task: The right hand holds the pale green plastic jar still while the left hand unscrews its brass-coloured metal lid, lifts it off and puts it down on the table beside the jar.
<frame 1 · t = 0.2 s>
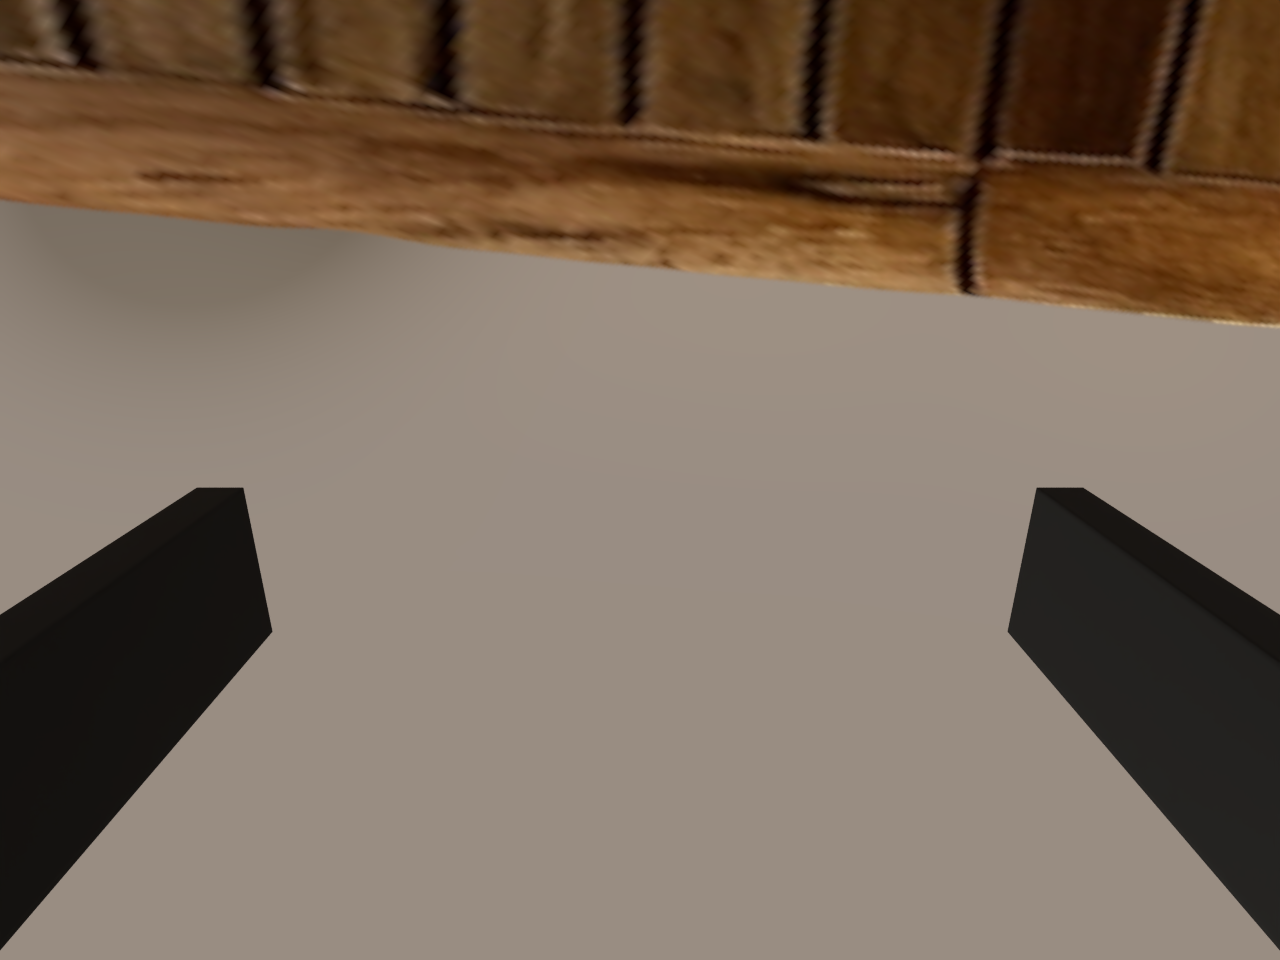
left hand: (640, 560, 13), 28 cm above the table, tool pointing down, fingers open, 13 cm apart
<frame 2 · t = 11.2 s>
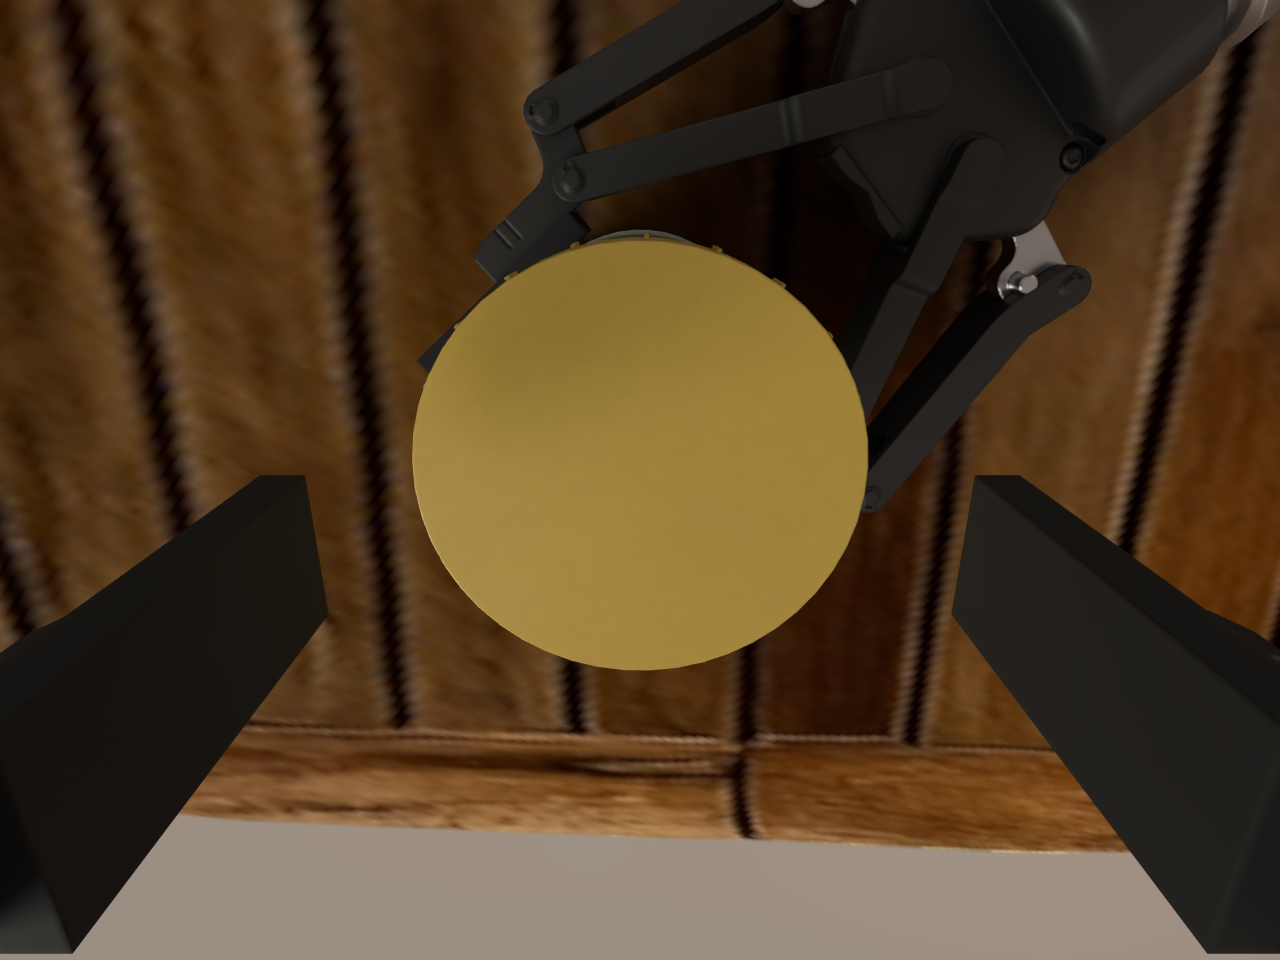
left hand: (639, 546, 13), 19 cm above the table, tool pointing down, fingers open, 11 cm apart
right hand: (544, 468, 26), fingers closed on jar, 9 cm apart
lid: (640, 473, 17), point 15 cm above the table, screwed on, not yet turned
jar: (640, 349, 30), on the table, touching right hand
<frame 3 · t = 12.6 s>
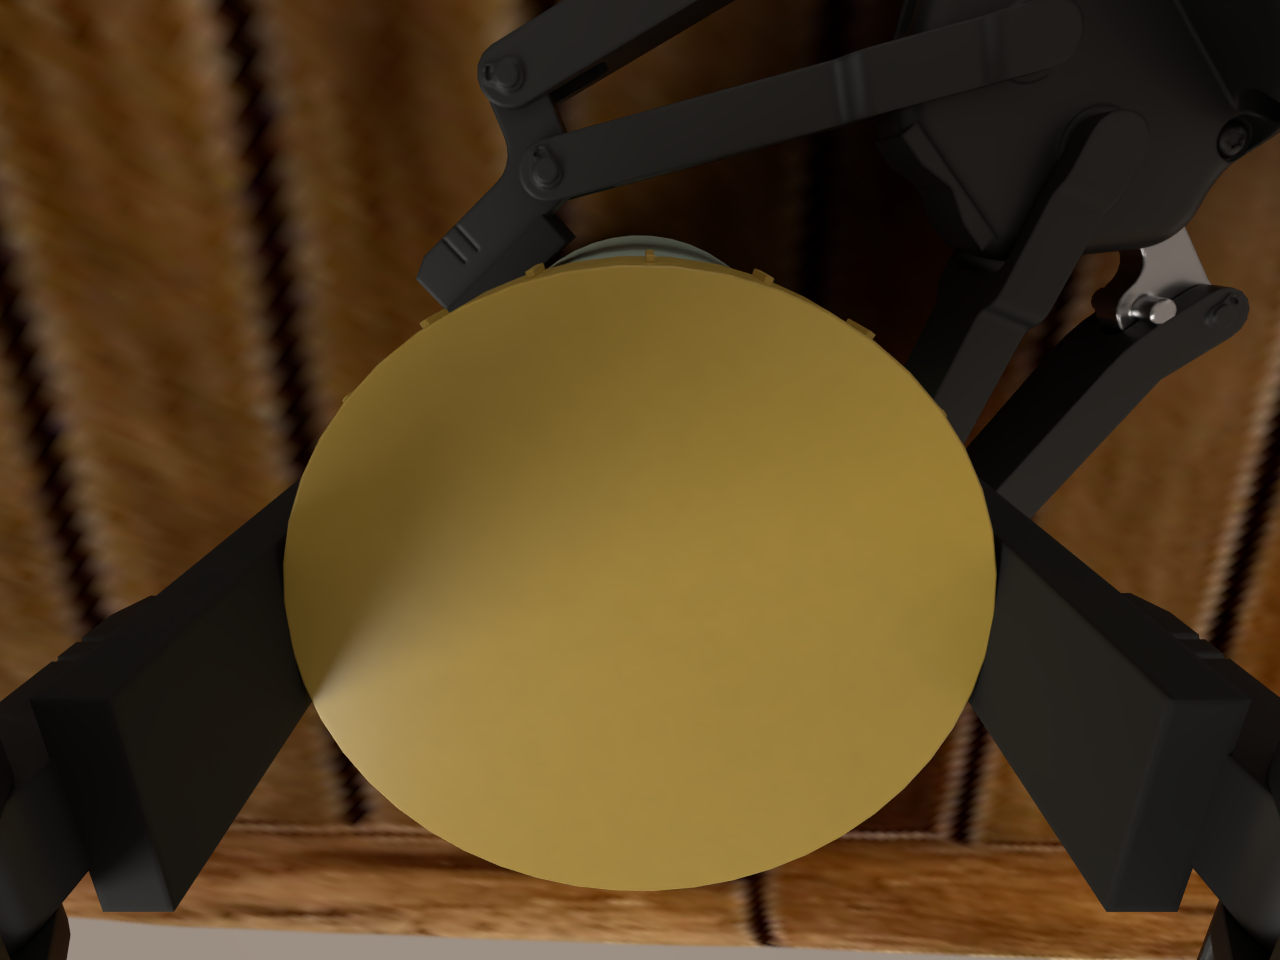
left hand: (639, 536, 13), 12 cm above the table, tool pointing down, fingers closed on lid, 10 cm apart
right hand: (515, 545, 20), fingers closed on jar, 9 cm apart
lid: (639, 618, 11), point 15 cm above the table, screwed on, not yet turned, touching left hand
jar: (639, 382, 25), on the table, touching right hand
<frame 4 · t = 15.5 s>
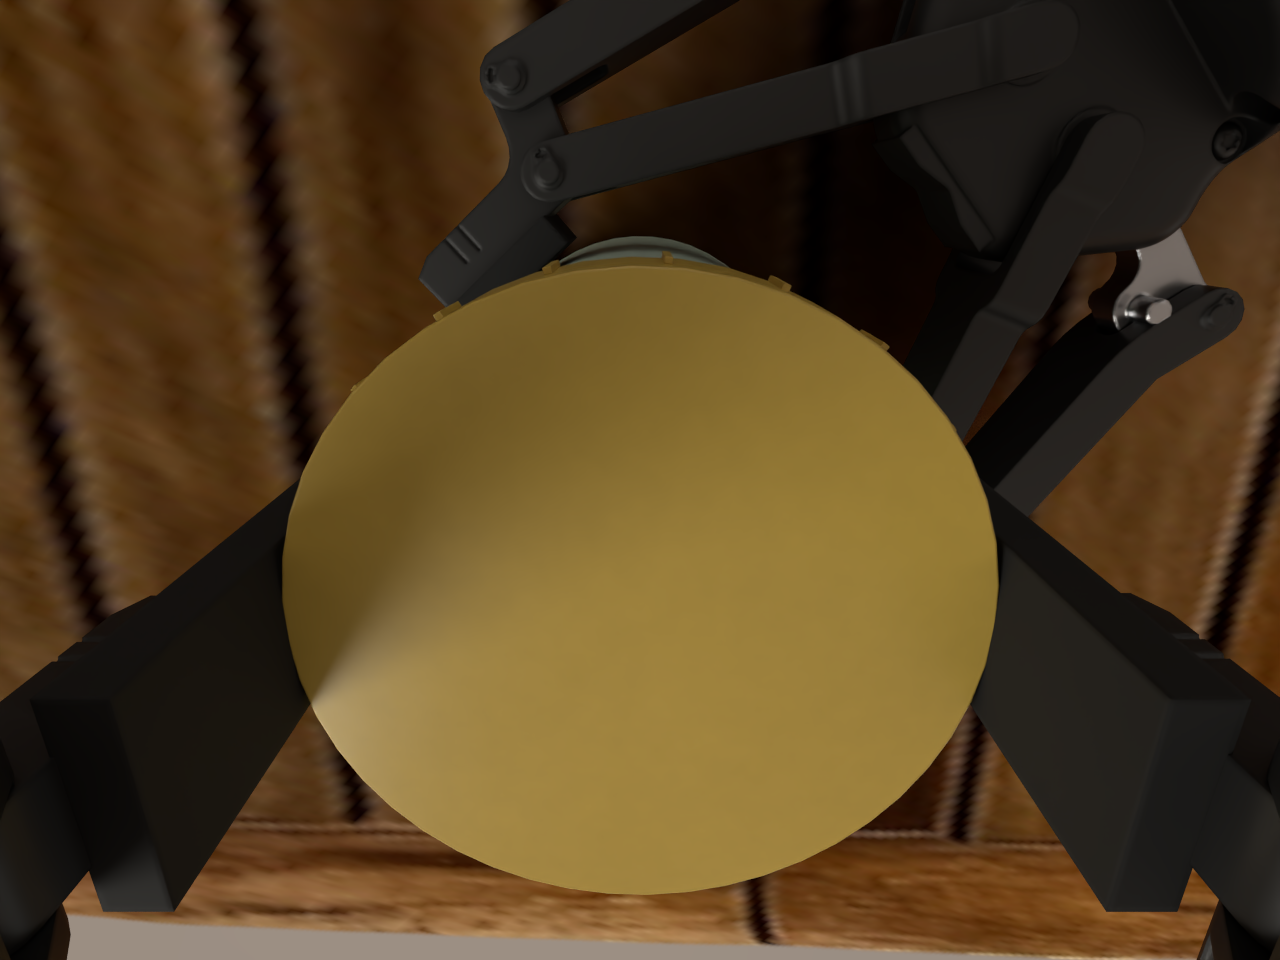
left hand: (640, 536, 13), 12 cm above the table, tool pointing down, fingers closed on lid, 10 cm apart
right hand: (516, 543, 20), fingers closed on jar, 9 cm apart
lid: (640, 620, 11), point 15 cm above the table, turned 66° so far, risen 0.2 cm, still on its thread, touching left hand
jar: (639, 382, 25), on the table, touching right hand
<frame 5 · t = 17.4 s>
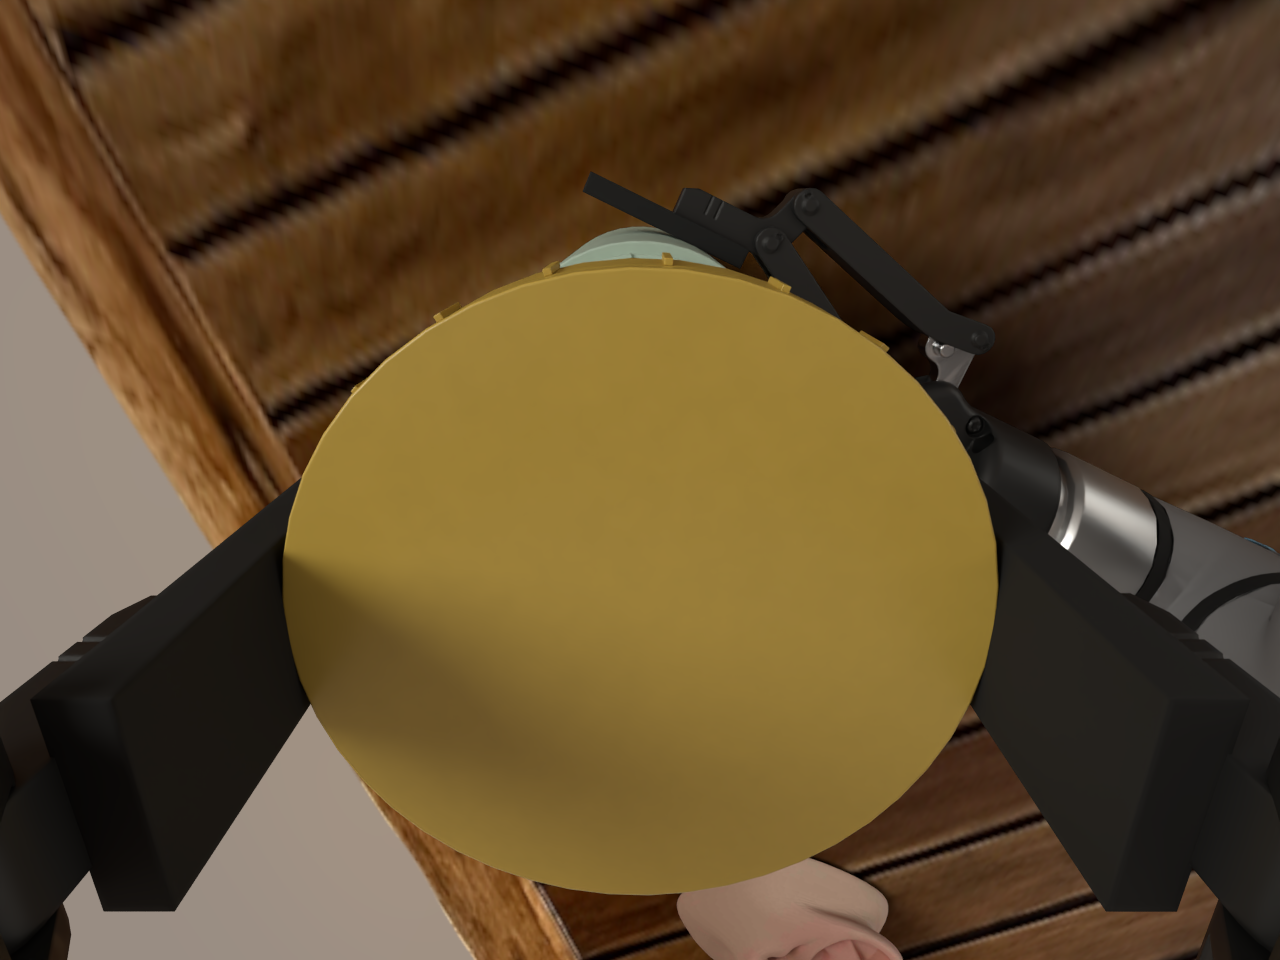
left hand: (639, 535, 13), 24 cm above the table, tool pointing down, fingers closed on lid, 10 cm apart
lid: (640, 621, 11), point 27 cm above the table, off its thread, touching left hand
jar: (639, 326, 36), on the table, touching right hand
anatomical model: (779, 912, 50), on the table
when the left hand's fingers open (0 cm above the table, at t = 22.4 s): lid drops 2 cm, point 1 cm above the table.
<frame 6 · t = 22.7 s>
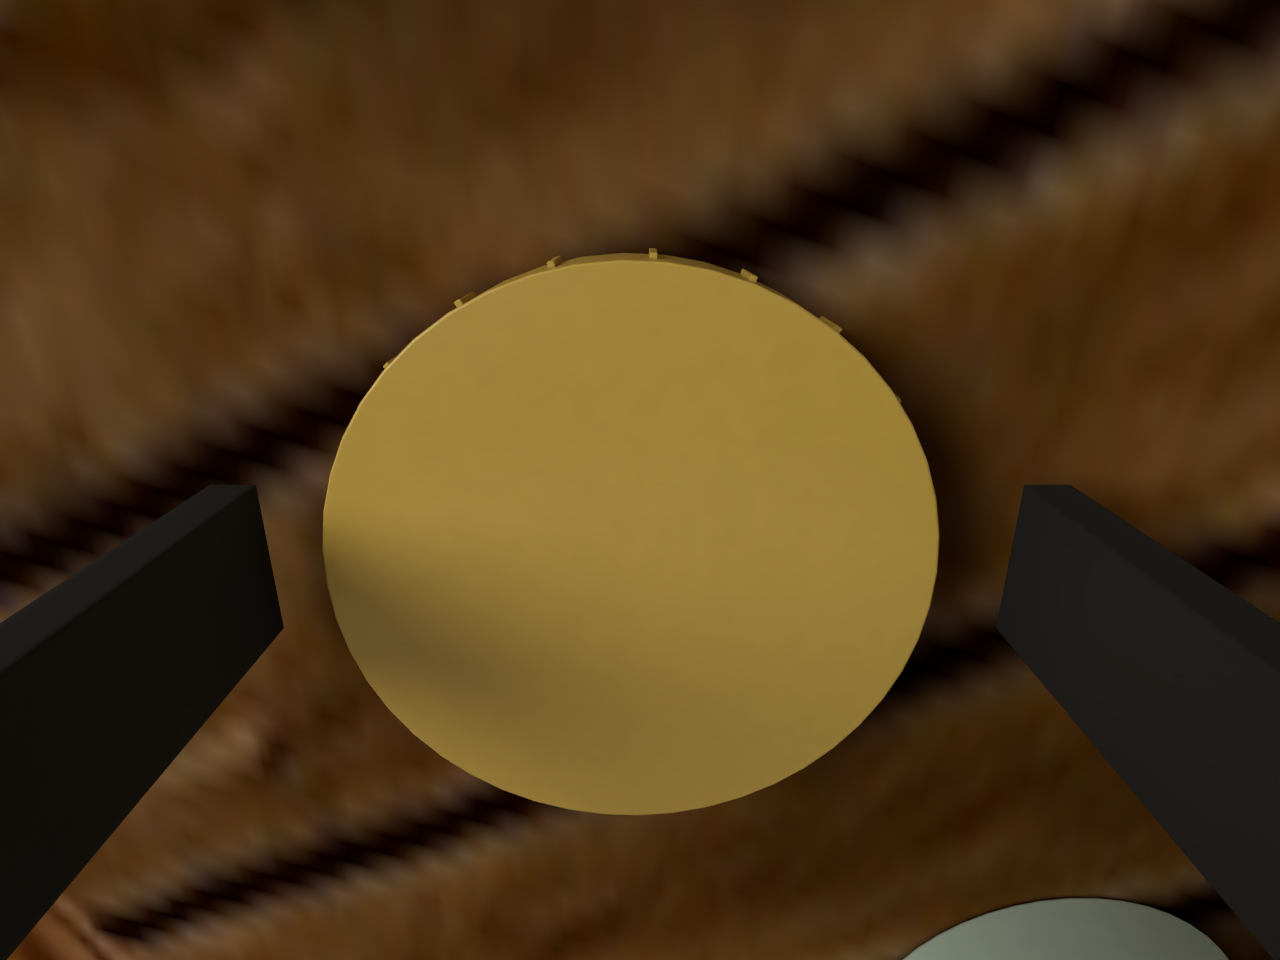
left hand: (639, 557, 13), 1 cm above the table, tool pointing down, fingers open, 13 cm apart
lid: (631, 568, 12), point 1 cm above the table, off its thread
when the right hand's fingers open (6 cm above the table, at t = 23.5 s): jar stays where it is, on the table.
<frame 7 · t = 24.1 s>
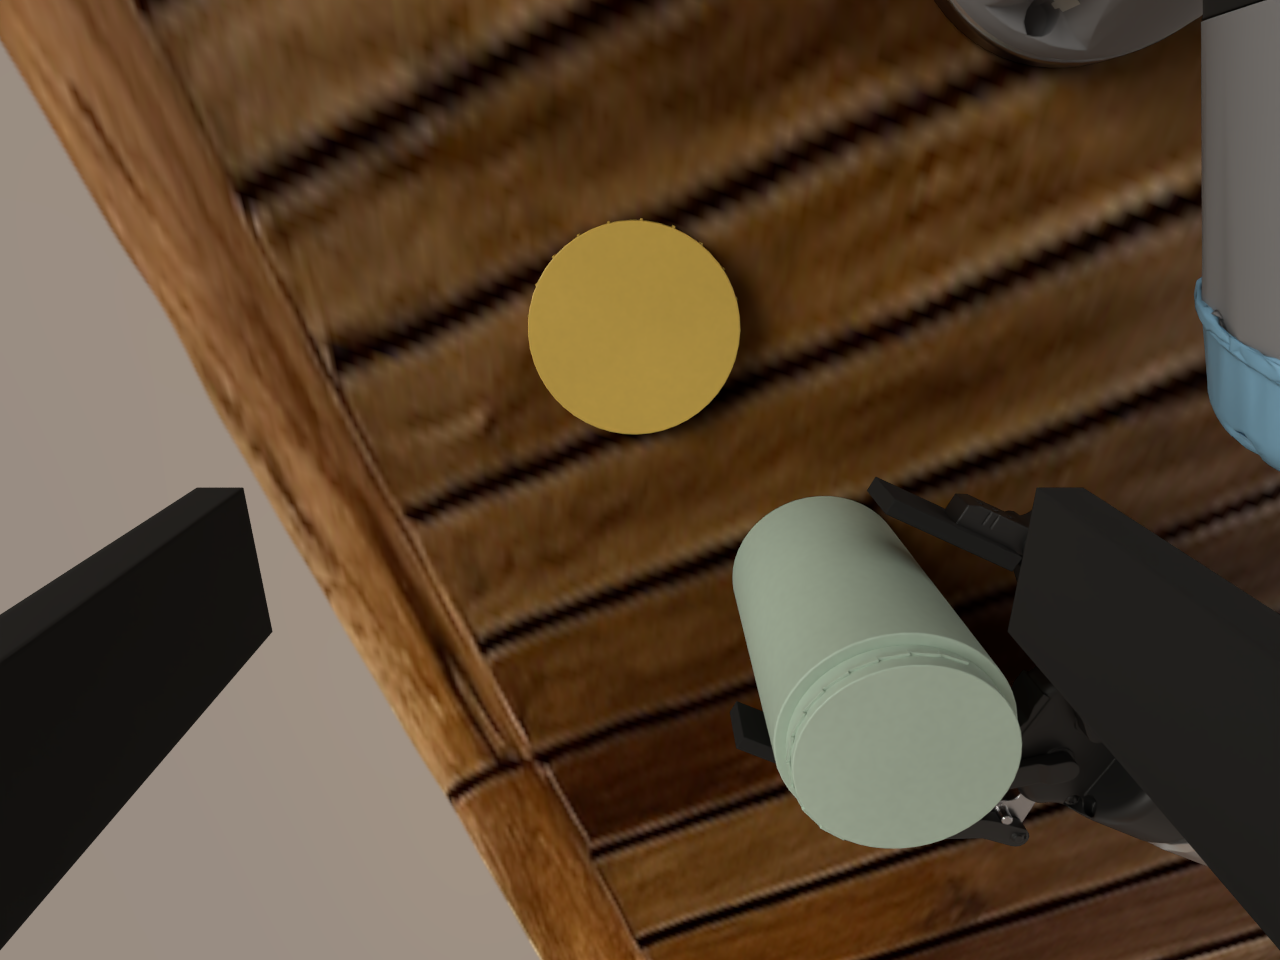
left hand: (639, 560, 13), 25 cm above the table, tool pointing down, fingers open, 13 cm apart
lid: (634, 331, 35), point 1 cm above the table, off its thread
jar: (816, 573, 41), on the table
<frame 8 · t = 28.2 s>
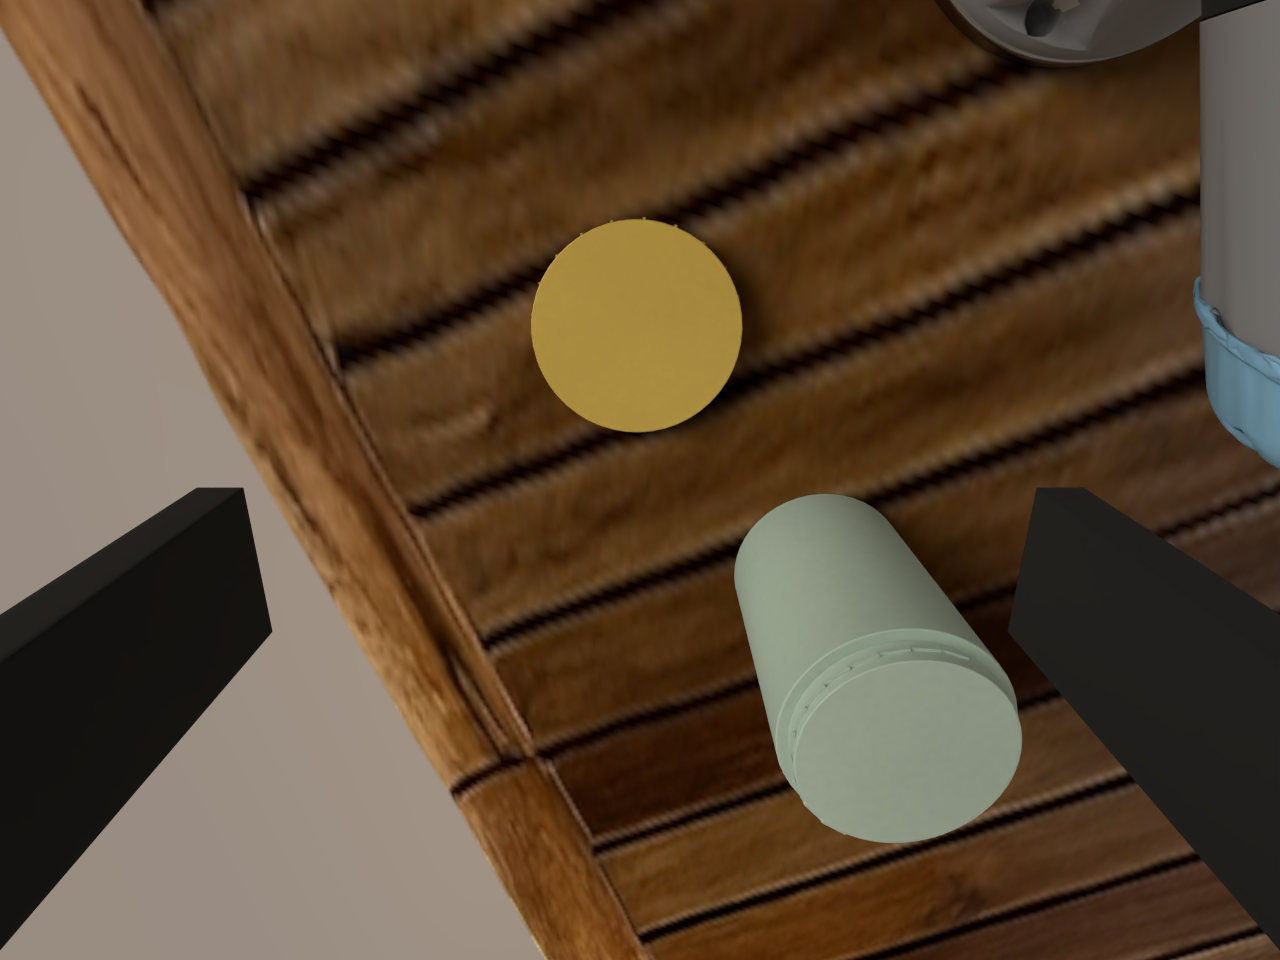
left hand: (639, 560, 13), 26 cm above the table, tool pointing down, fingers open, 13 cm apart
lid: (636, 330, 35), point 1 cm above the table, off its thread
jar: (818, 571, 41), on the table
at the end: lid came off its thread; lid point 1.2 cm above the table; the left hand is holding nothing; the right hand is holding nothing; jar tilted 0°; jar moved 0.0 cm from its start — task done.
